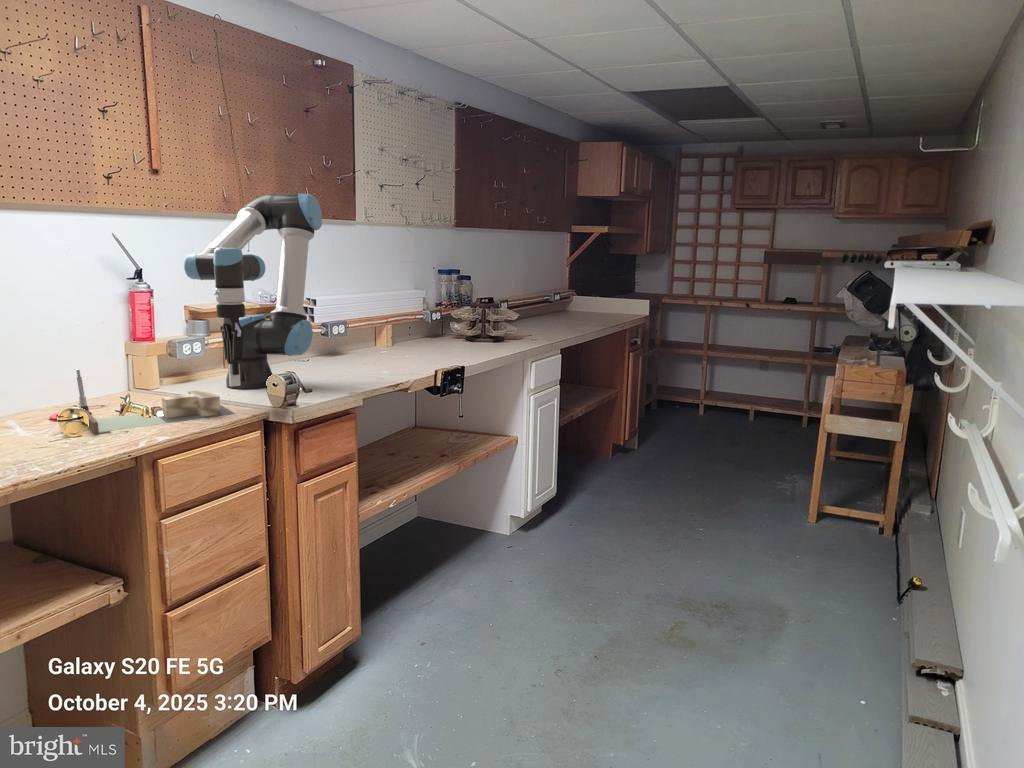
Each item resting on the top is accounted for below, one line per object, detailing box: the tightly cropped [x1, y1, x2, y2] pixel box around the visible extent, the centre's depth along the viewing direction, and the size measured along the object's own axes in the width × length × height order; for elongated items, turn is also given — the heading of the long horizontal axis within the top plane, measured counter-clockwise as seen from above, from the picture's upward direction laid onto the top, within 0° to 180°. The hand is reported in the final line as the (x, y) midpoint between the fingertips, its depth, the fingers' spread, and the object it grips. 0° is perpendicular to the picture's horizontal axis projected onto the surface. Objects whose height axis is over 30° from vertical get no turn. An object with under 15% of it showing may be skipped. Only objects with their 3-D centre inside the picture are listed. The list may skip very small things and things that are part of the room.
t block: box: [161, 388, 221, 418], centre depth 207 cm, size 13×12×5 cm
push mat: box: [85, 404, 236, 435], centre depth 202 cm, size 35×16×3 cm, turn 128°
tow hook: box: [49, 368, 93, 422], centre depth 202 cm, size 8×13×9 cm
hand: (234, 385), depth 213 cm, fingers closed
